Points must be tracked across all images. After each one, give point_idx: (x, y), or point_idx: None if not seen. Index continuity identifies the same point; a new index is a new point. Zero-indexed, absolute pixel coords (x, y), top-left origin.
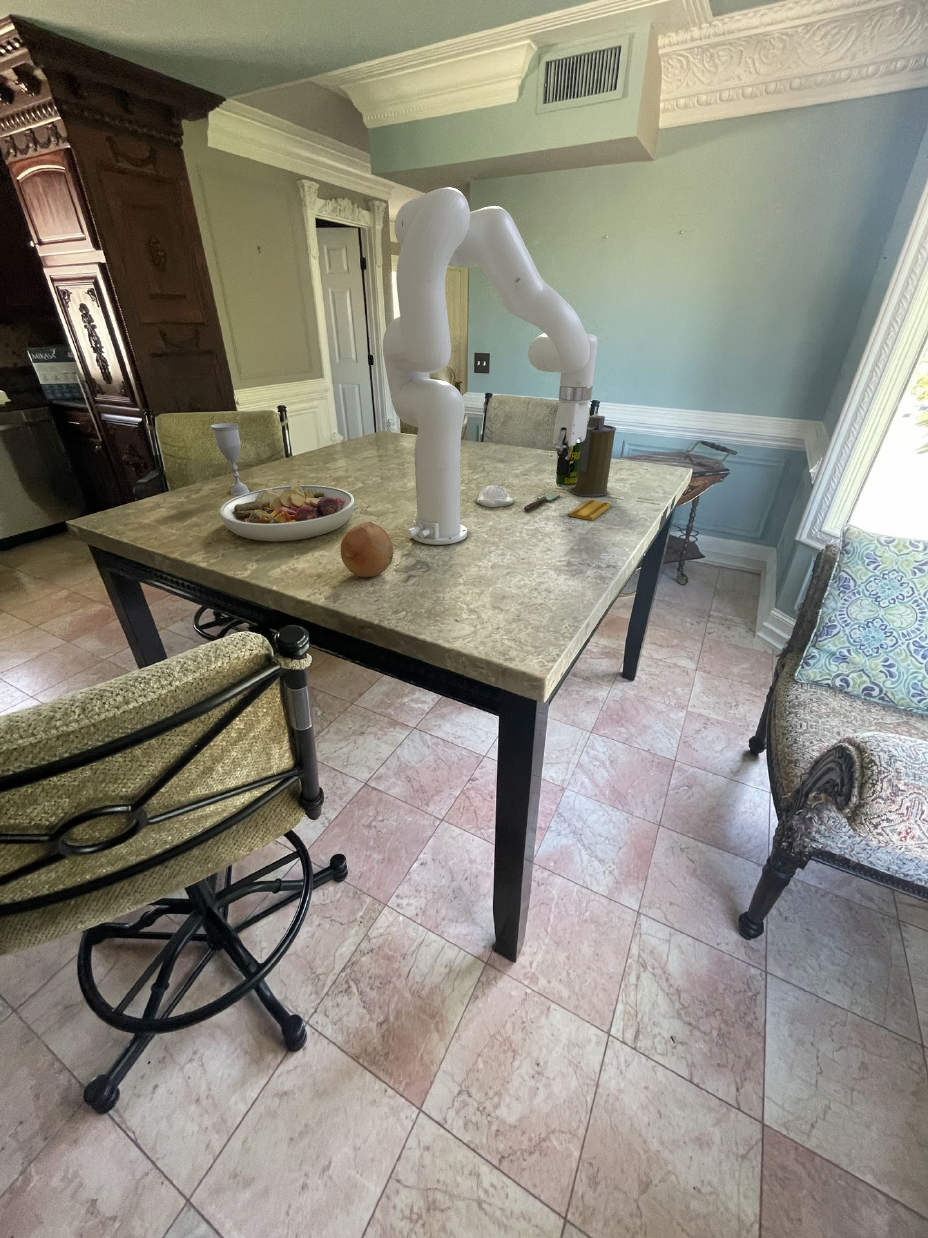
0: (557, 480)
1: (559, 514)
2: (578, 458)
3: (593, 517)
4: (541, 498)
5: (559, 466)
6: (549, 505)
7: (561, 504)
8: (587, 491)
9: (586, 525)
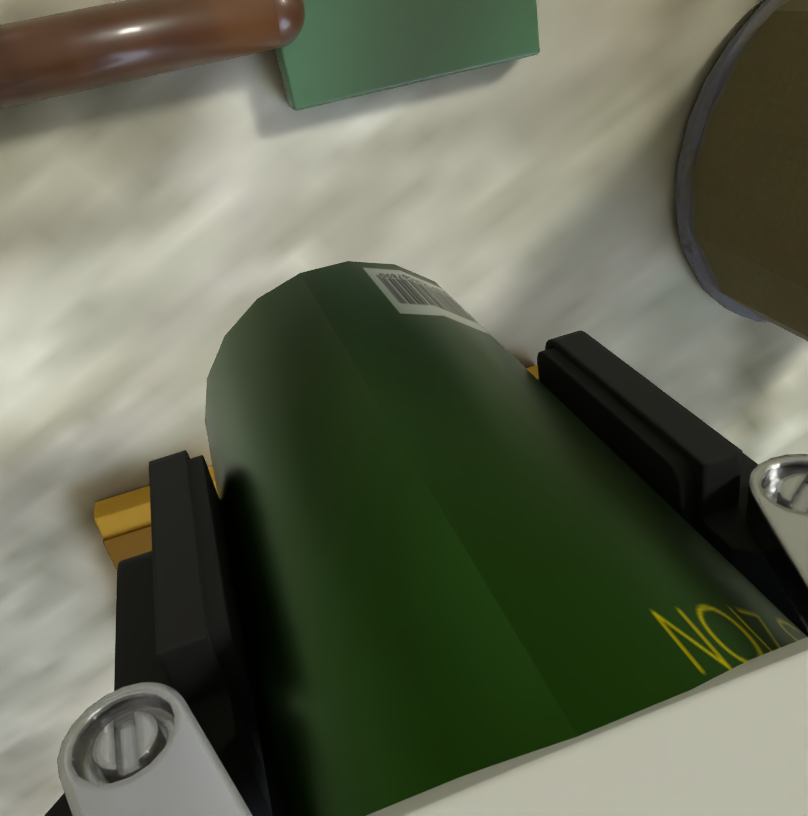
0: (219, 375)
1: (51, 425)
2: None
3: None
4: (171, 48)
5: (119, 629)
6: (195, 166)
7: (324, 233)
8: (717, 254)
9: (35, 703)
